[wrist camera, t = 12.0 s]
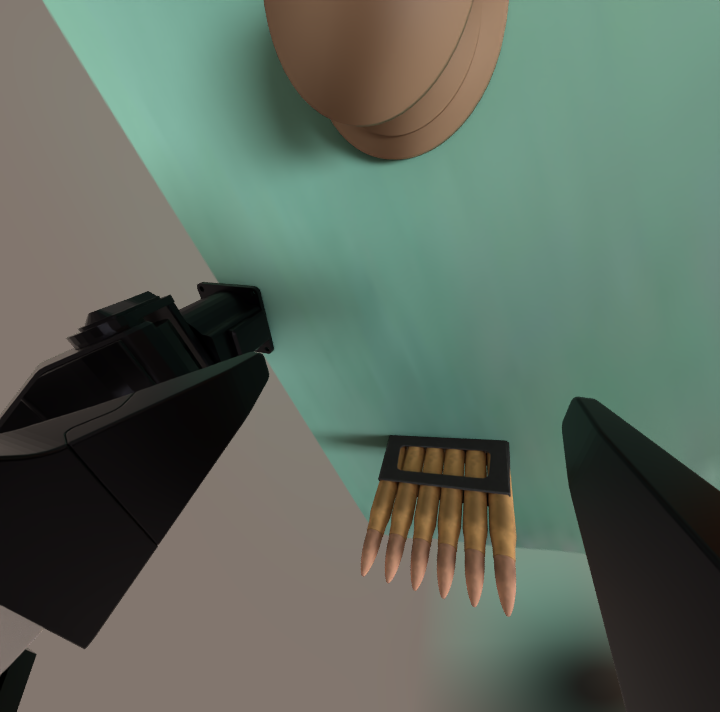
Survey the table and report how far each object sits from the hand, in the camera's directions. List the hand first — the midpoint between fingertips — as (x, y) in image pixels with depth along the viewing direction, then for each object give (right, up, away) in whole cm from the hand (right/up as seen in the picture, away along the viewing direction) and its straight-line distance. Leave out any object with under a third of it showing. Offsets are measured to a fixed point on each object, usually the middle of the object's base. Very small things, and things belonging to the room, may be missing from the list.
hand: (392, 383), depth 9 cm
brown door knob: (+1, +16, +6) cm, 17 cm away
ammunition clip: (+7, -7, +19) cm, 21 cm away
